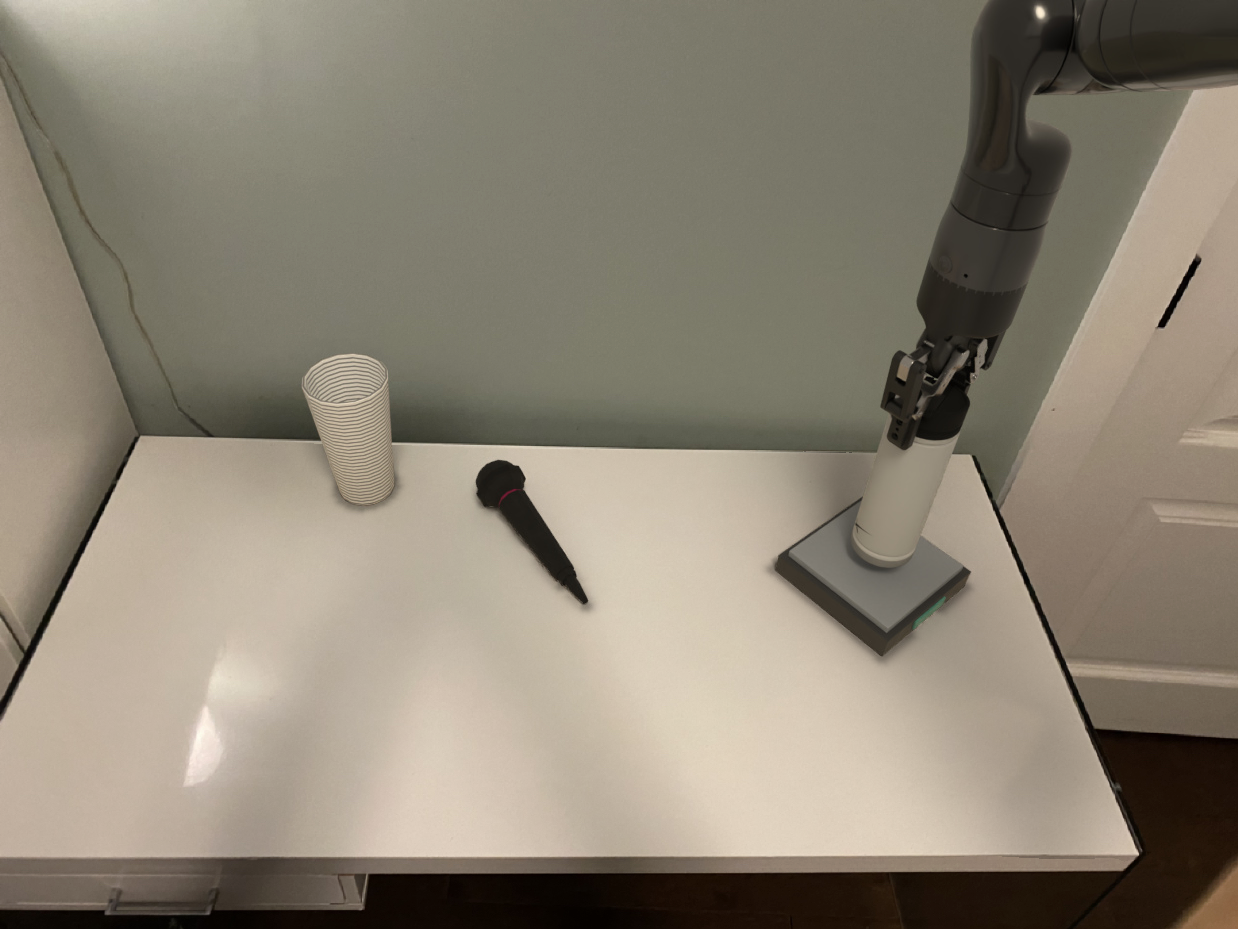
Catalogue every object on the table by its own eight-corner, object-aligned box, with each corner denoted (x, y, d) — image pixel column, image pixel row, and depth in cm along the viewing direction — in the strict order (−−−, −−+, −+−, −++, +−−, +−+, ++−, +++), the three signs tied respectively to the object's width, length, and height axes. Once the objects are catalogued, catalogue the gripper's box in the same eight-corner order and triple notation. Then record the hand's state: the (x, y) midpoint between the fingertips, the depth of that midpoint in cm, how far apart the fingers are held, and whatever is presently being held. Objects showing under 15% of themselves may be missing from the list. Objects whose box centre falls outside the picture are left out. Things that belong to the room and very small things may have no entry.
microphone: (596, 613, 94) (501, 483, 104) (616, 576, 91) (516, 445, 101) (554, 627, 91) (460, 490, 101) (573, 589, 87) (474, 452, 97)
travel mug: (838, 552, 91) (886, 394, 77) (865, 514, 95) (915, 358, 82) (897, 581, 88) (957, 423, 75) (922, 541, 93) (983, 384, 79)
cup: (380, 523, 98) (358, 412, 88) (312, 501, 100) (283, 390, 90) (420, 473, 104) (404, 364, 94) (356, 453, 106) (333, 344, 96)
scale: (966, 587, 95) (975, 567, 93) (883, 658, 88) (891, 638, 86) (858, 510, 103) (864, 490, 100) (774, 570, 96) (779, 549, 93)
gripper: (969, 315, 64) (908, 485, 76) (1073, 253, 71) (1004, 417, 83) (883, 271, 68) (838, 438, 80) (989, 216, 75) (934, 377, 87)
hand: (922, 427), depth 81 cm, fingers closed on travel mug, 6 cm apart
